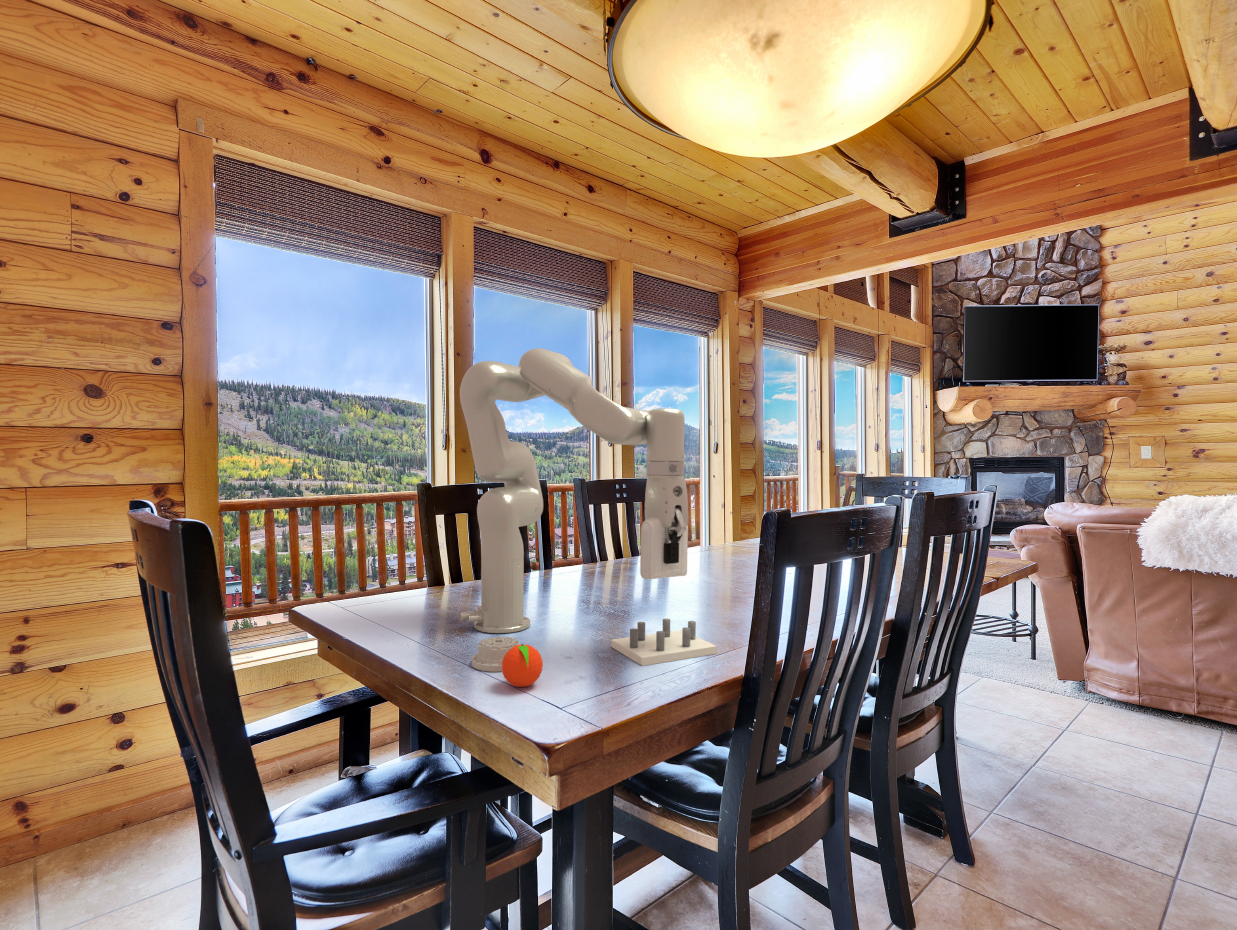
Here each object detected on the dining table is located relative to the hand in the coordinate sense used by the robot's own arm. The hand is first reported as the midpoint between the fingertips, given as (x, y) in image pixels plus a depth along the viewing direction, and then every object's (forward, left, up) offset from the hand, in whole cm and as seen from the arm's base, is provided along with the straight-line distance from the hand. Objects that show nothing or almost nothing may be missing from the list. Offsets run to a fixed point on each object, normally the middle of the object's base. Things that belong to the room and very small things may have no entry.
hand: (664, 560), depth 130 cm
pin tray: (0, 0, -18) cm, 18 cm away
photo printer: (0, 0, -4) cm, 4 cm away
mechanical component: (-32, +7, -19) cm, 38 cm away
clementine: (-32, -7, -19) cm, 38 cm away
